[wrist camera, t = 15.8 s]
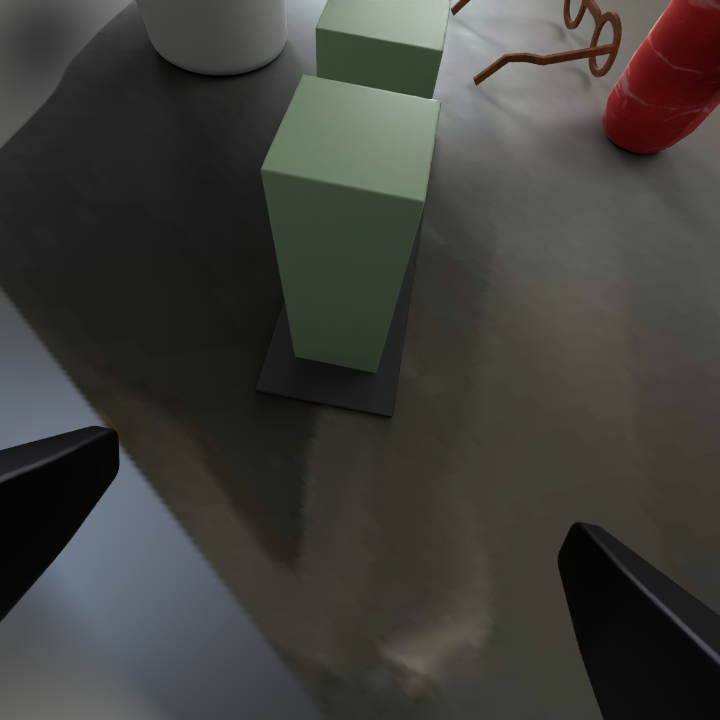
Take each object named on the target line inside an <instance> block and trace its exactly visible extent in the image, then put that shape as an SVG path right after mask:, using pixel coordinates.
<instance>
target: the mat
mask: <svg viewBox="0 0 720 720" xmlns="http://www.w3.org/2000/svg"><path fill="white" fill-rule="evenodd" d="M423 209H424V207H423ZM422 215H423V210H422V214H421V217H420V221H419V225H418V228H417V232H416V235H415V239H414V242H413V246H412V249H411V253H410V256H409V260H408V263H407V267H406V270H405V274H404V277H403V281H402V284H401V288H400V292H399V295H398V299H397V302H396V306H395V309H394V313H393V316H392V320H391V323H390V327H389V330H388V334H387V337H386V341H385V344H384V348H383V351H382V355H381V359H380V362H379V366H378V369H377V372H376V373H373V372H368V371H363V370H358V369H353V368H349V367H344V366H339V365H334V364H329V363H325V362H320V361H315V360H310V359H305V358H300V357H296V356H295V353H294V348H293V342H292V337H291V332H290V326H289V321H288V315H287V310H286V305H285V299H284V302H283V305H282V308H281V311H280V315H279V318H278V321H277V324H276V327H275V330H274V333H273V337H272V340H271V343H270V346H269V349H268V352H267V355H266V359H265V362H264V365H263V368H262V371H261V374H260V377H259V381H258V384H257V387H256V391H258V392H263V393H268V394H273V395H278V396H283V397H288V398H293V399H298V400H303V401H309V402H314V403H319V404H324V405H329V406H334V407H339V408H344V409H349V410H354V411H359V412H365V413H370V414H375V415H380V416H385V417H390V418H392V416H393V410H394V403H395V396H396V389H397V383H398V376H399V369H400V363H401V356H402V349H403V343H404V336H405V329H406V323H407V316H408V309H409V302H410V296H411V289H412V282H413V276H414V269H415V262H416V256H417V249H418V242H419V236H420V229H421V222H422Z"/></svg>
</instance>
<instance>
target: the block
mask: <svg viewBox="0 0 720 720" xmlns="http://www.w3.org/2000/svg"><path fill="white" fill-rule="evenodd" d="M440 108H441V102H440V101H436V100H431V99H426V98H421V97H415V96H410V95H405V94H400V93H395V92H390V91H385V90H380V89H374V88H369V87H364V86H359V85H354V84H349V83H344V82H339V81H334V80H328V79H323V78H318V77H313V76H308V75H302V77H301V79H300V82H299V84H298V86H297V88H296V91H295V93H294V95H293V97H292V100H291V102H290V104H289V106H288V109H287V111H286V113H285V115H284V118H283V120H282V122H281V124H280V127H279V129H278V131H277V133H276V136H275V138H274V140H273V142H272V145H271V147H270V149H269V152H268V154H267V156H266V158H265V161H264V163H263V165H262V167H261V175H262V180H263V186H264V191H265V197H266V202H267V207H268V213H269V218H270V224H271V229H272V234H273V240H274V245H275V251H276V256H277V261H278V267H279V272H280V278H281V283H282V288H283V294H284V299H285V305H286V310H287V315H288V321H289V326H290V332H291V337H292V342H293V348H294V353H295V356H296V357H300V358H305V359H310V360H315V361H320V362H325V363H329V364H334V365H339V366H344V367H349V368H353V369H358V370H363V371H368V372H373V373H376V372H377V369H378V366H379V362H380V359H381V355H382V351H383V348H384V344H385V341H386V337H387V334H388V330H389V327H390V323H391V320H392V316H393V313H394V309H395V306H396V302H397V299H398V295H399V292H400V288H401V284H402V281H403V277H404V274H405V270H406V267H407V263H408V260H409V256H410V253H411V249H412V246H413V242H414V239H415V235H416V232H417V228H418V225H419V221H420V217H421V214H422V210H423V207H424V203H425V198H426V192H427V186H428V180H429V174H430V168H431V162H432V156H433V150H434V144H435V138H436V132H437V126H438V120H439V114H440Z"/></svg>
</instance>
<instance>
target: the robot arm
mask: <svg viewBox="0 0 720 720" xmlns="http://www.w3.org/2000/svg"><path fill="white" fill-rule="evenodd" d="M118 470H119V439H118V434H117V432H116V431H115V430H114V429H110V428H105V427H100V426H90V427H87V428H83V429H79V430H75V431H72V432H68V433H64V434H60V435H56V436H53V437H49V438H45V439H41V440H37V441H34V442H30V443H26V444H22V445H19V446H15V447H11V448H7V449H4V450H0V622H1V621H2V620H3V619H4V617H5V616H6V615H7V614H8V613H9V612H10V611H11V609H12V608H13V607H14V606H15V605H16V604H17V602H18V601H19V600H20V599H21V598H22V597H23V596H24V595H25V593H26V592H27V591H28V590H29V589H30V588H31V586H32V585H33V584H34V583H35V582H36V581H37V579H38V578H39V577H40V576H41V575H42V574H43V573H44V571H45V570H46V569H47V568H48V567H49V565H50V564H51V563H52V562H53V561H54V560H55V558H56V557H57V556H58V555H59V554H60V553H61V551H62V550H63V549H64V548H65V546H66V545H67V544H68V542H69V541H70V540H71V538H72V537H73V536H74V534H75V533H76V532H77V530H78V529H79V527H80V526H81V525H82V523H83V522H84V520H85V519H86V518H87V516H88V515H89V514H90V512H91V511H92V509H93V508H94V507H95V505H96V504H97V502H98V501H99V499H100V498H101V497H102V495H103V494H104V493H105V491H106V490H107V488H108V487H109V486H110V484H111V483H112V481H113V480H114V479H115V477H116V475H117V473H118ZM558 568H559V572H560V576H561V580H562V584H563V588H564V592H565V596H566V599H567V603H568V607H569V611H570V615H571V619H572V623H573V627H574V631H575V635H576V639H577V642H578V646H579V649H580V653H581V656H582V659H583V662H584V665H585V668H586V671H587V674H588V677H589V679H590V682H591V685H592V688H593V691H594V694H595V696H596V699H597V702H598V705H599V708H600V711H601V714H602V716H603V719H604V720H720V616H719V615H718V614H717V613H715V612H714V611H713V610H711V609H710V608H709V607H707V606H706V605H705V604H703V603H702V602H701V601H699V600H698V599H697V598H695V597H694V596H692V595H691V594H690V593H688V592H687V591H686V590H684V589H683V588H682V587H680V586H679V585H678V584H676V583H675V582H674V581H672V580H671V579H670V578H668V577H667V576H666V575H664V574H663V573H662V572H660V571H659V570H657V569H656V568H655V567H653V566H652V565H651V564H649V563H648V562H647V561H645V560H644V559H643V558H641V557H640V556H639V555H637V554H636V553H635V552H633V551H632V550H631V549H629V548H628V547H627V546H625V545H624V544H623V543H621V542H620V541H618V540H617V539H616V538H614V537H613V536H612V535H610V534H609V533H608V532H606V531H605V530H604V529H602V528H601V527H599V526H597V525H593V524H588V523H583V522H576V523H574V524H573V525H572V526H571V528H570V530H569V532H568V534H567V536H566V538H565V540H564V543H563V545H562V547H561V549H560V551H559V554H558Z"/></svg>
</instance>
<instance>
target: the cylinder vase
mask: <svg viewBox="0 0 720 720" xmlns="http://www.w3.org/2000/svg"><path fill="white" fill-rule="evenodd" d="M136 2H137V5H138V8H139V10H140V13H141V16H142V19H143V22H144V24H145V27H146V30H147V33H148V35H149V38H150V41H151V43H152V45H153V46H154V48H155V49H156V50H157V52H158V53H159V54H160V55H161V56H162V57H164V58H165V59H166V60H167V61H169V62H170V63H172V64H174V65H176V66H178V67H180V68H182V69H185V70H188V71H191V72H195V73H199V74H205V75H235V74H241V73H246V72H250V71H253V70H256V69H258V68H261V67H263V66H265V65H266V64H268V63H270V62H271V61H272V60H274V59H275V58H276V57H277V56H278V55H279V54H280V52H281V51H282V50H283V48H284V46H285V43H286V40H287V20H286V8H285V0H136Z"/></svg>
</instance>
